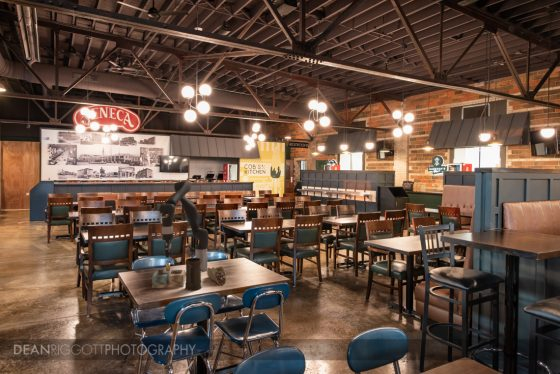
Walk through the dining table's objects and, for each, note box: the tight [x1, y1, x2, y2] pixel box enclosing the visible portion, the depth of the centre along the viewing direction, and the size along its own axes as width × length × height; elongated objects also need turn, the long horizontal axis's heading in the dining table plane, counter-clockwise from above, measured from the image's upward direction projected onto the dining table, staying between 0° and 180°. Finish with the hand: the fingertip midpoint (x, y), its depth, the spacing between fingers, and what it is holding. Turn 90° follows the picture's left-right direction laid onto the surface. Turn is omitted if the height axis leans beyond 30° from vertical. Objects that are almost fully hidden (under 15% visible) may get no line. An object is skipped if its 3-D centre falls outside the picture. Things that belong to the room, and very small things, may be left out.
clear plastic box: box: [151, 267, 186, 289], centre depth 255 cm, size 20×14×11 cm
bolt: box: [156, 262, 171, 274], centre depth 255 cm, size 8×3×7 cm, turn 99°
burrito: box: [206, 266, 227, 286], centre depth 265 cm, size 10×27×10 cm, turn 28°
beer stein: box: [184, 257, 202, 292], centre depth 244 cm, size 15×11×20 cm
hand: (168, 256), depth 255 cm, fingers open, 8 cm apart
